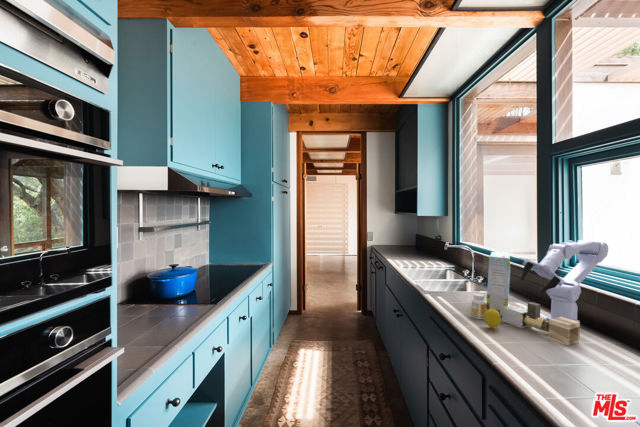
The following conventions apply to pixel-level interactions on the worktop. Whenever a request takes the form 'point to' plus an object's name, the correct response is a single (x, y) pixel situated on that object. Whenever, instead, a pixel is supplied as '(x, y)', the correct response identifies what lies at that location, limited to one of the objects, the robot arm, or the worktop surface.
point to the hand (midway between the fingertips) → (532, 284)
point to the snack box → (498, 281)
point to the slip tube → (535, 317)
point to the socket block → (564, 330)
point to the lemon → (492, 318)
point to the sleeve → (514, 316)
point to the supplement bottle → (478, 306)
